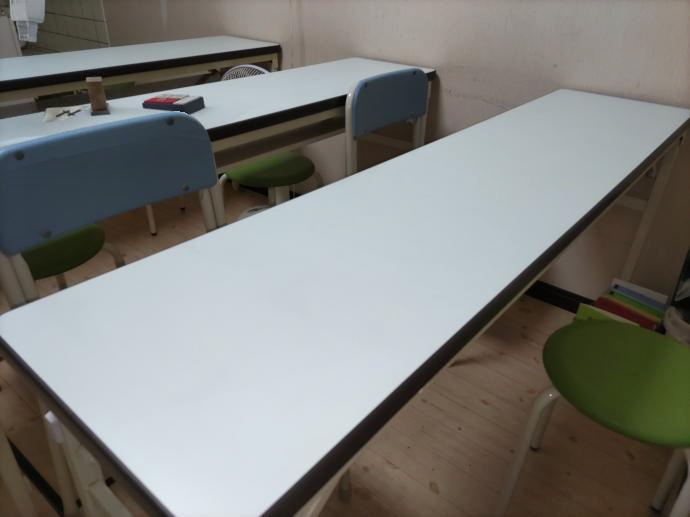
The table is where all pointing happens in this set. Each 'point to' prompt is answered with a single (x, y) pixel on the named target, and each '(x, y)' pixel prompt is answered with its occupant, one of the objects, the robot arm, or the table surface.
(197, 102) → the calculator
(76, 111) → the marker scribble
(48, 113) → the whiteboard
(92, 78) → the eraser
